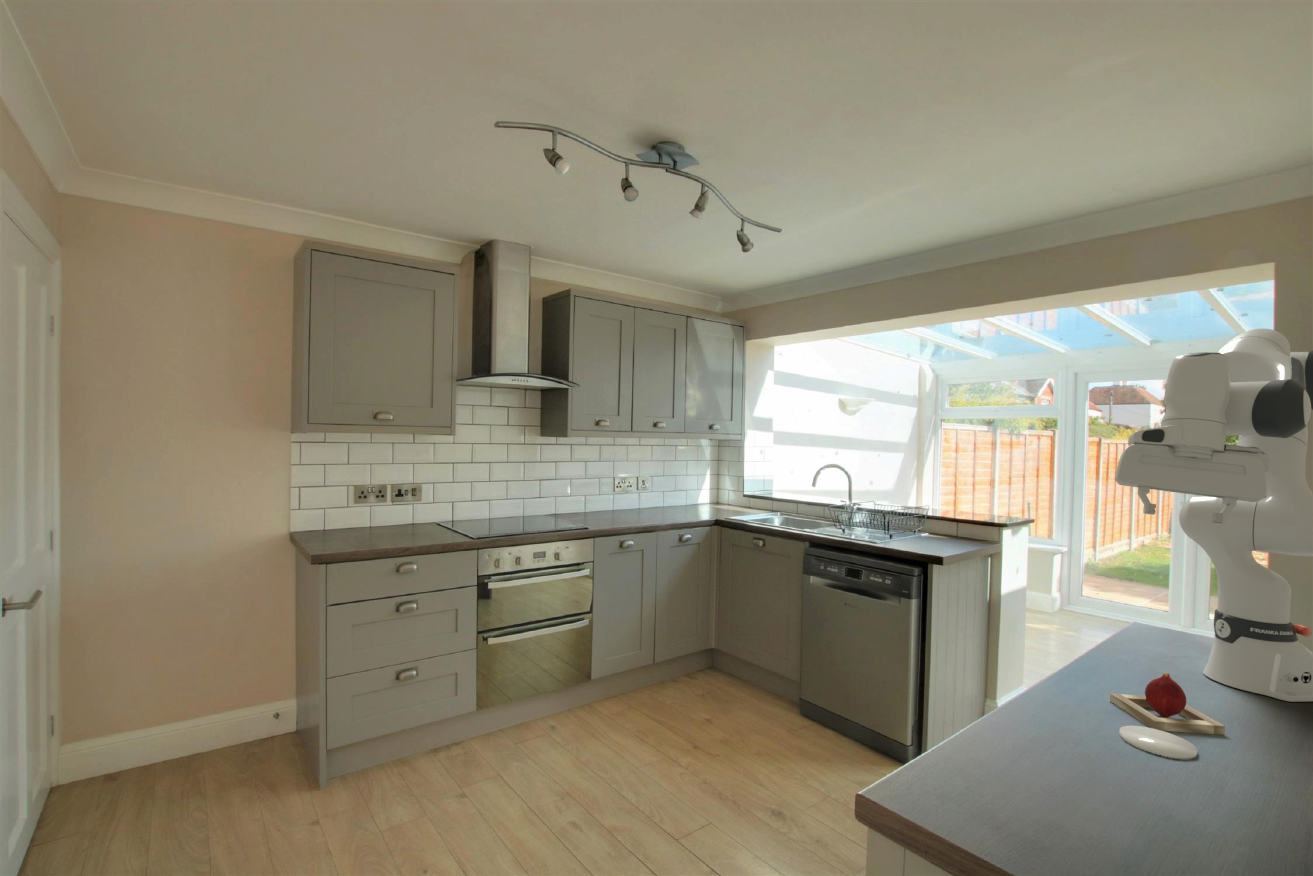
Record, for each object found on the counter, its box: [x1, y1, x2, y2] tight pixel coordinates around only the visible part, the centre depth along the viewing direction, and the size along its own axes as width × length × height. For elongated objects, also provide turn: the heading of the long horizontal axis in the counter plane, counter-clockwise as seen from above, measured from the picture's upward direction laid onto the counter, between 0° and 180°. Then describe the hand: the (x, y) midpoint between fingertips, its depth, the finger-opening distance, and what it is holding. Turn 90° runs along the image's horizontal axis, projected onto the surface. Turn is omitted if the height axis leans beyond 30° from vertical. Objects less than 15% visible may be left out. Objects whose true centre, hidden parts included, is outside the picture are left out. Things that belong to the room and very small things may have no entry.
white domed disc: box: [1118, 725, 1198, 761], centre depth 104 cm, size 10×10×1 cm
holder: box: [1109, 693, 1226, 736], centre depth 114 cm, size 12×12×2 cm
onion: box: [1144, 671, 1187, 718], centre depth 114 cm, size 6×6×8 cm
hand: (1182, 518), depth 110 cm, fingers open, 8 cm apart
